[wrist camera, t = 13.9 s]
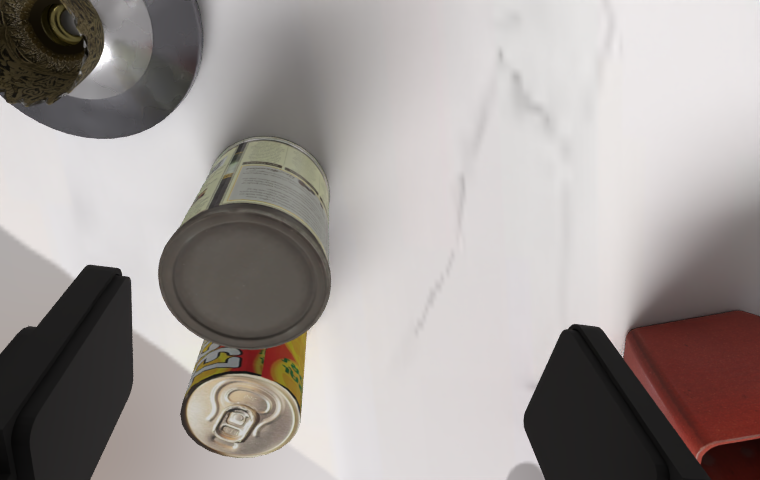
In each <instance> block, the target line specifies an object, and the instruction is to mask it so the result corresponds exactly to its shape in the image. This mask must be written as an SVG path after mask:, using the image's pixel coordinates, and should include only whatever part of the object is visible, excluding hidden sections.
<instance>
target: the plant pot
mask: <svg viewBox="0 0 760 480" xmlns="http://www.w3.org/2000/svg"><path fill="white" fill-rule="evenodd" d="M624 360H625V362H626V363H627V365H628V366H629V367H630V369H631V370H632V371H633V373H634V374H635V376H636V377H637V378H638V380H639V381H640V382H641V384H642V385H643V387H644V388H645V389H646V391H647V392H648V393H649V395H650V396H651V398H652V399H653V400H654V402H655V403H656V404H657V406H658V407H659V408H660V410H661V411H662V413H663V414H664V415H665V417H666V418H667V419H668V421H669V422H670V424H671V425H672V426H673V428H674V429H675V430H676V432H677V433H678V435H679V436H680V437H681V439H682V440H683V441H684V443H685V444H686V446H687V447H688V448H689V450H690V451H691V452H692V454H693V455H694V457H695V458H696V459H697V461H698V462H699V463H700V465H701V466H702V468H703V469H704V470H705V472H706V473H707V474H708V476H709V477H710V478H711V480H760V316H757V315H754V314H751V313H747V312H744V311H732V312H726V313H721V314H715V315H709V316H703V317H698V318H692V319H686V320H681V321H675V322H669V323H664V324H658V325H652V326H646V327H640V328H636V329H633V330H632V331H630V332H629V333H628V335H627V336H626V342H625V351H624Z"/></svg>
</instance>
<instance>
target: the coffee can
mask: <svg viewBox="0 0 760 480" xmlns="http://www.w3.org/2000/svg"><path fill="white" fill-rule="evenodd" d="M328 206H329V186H328V182H327V179H326V176H325V174H324V171H323V170H322V168H321V166H320V165H319V163H318V162H317V161H316V159H315V158H314V157H313V156H311V154H309V153H308V152H307V151H306V150H305V149H303V148H302V147H300V146H298V145H296V144H294V143H292V142H290V141H287V140H284V139H280V138H277V137H253V138H248V139H245V140H242V141H239V142H237V143H235V144H233V145H232V146H230V147H228V148H227V149H226V150H225V151H224V152H223V153H222V154H221V155H220V156H219V157H218V158H217V160H216V161H215V163H214V164H213V166H212V168H211V171H210V174H209V176H208V177H207V179H206V181H205V183H204V184H203V186H202V188H201V190H200V192H199V193H198V195H197V197H196V199H195V201H194V202H193V204H192V206H191V208H190V209H189V211H188V213H187V214H186V216H185V218H184V220H183V222H182V224H181V225H180V227H179V228H178V229H177V231H176V232H175V233H174V234H173V236H172V237H171V238H170V240H169V241H168V243H167V244H166V246H165V248H164V250H163V253H162V255H161V258H160V262H159V269H158V279H159V286H160V290H161V294H162V296H163V299H164V301H165V303H166V305H167V307H168V308H169V310H170V311H171V313H172V314H173V315H174V316H175V317H176V318H177V320H178V321H179V322H180V323H181V324H182V325H184V326H185V327H186V328H187V329H188V330H190V331H191V332H193V333H194V334H196V335H197V336H199V337H201V338H203V339H204V340H206V341H209V342H211V343H214V344H217V345H220V346H224V347H228V348H234V349H242V350H246V349H247V350H259V349H266V348H272V347H276V346H279V345H282V344H285V343H287V342H290V341H292V340H294V339H296V338H298V337H299V336H301V335H302V334H304V333H305V332H306V331H307V330H309V329H310V328H311V327H312V326H313V325H314V324H315V323H316V322H317V320H318V319H319V318H320V316H321V315H322V313H323V311H324V309H325V307H326V305H327V302H328V299H329V295H330V287H331V275H330V268H329V208H328Z"/></svg>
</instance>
